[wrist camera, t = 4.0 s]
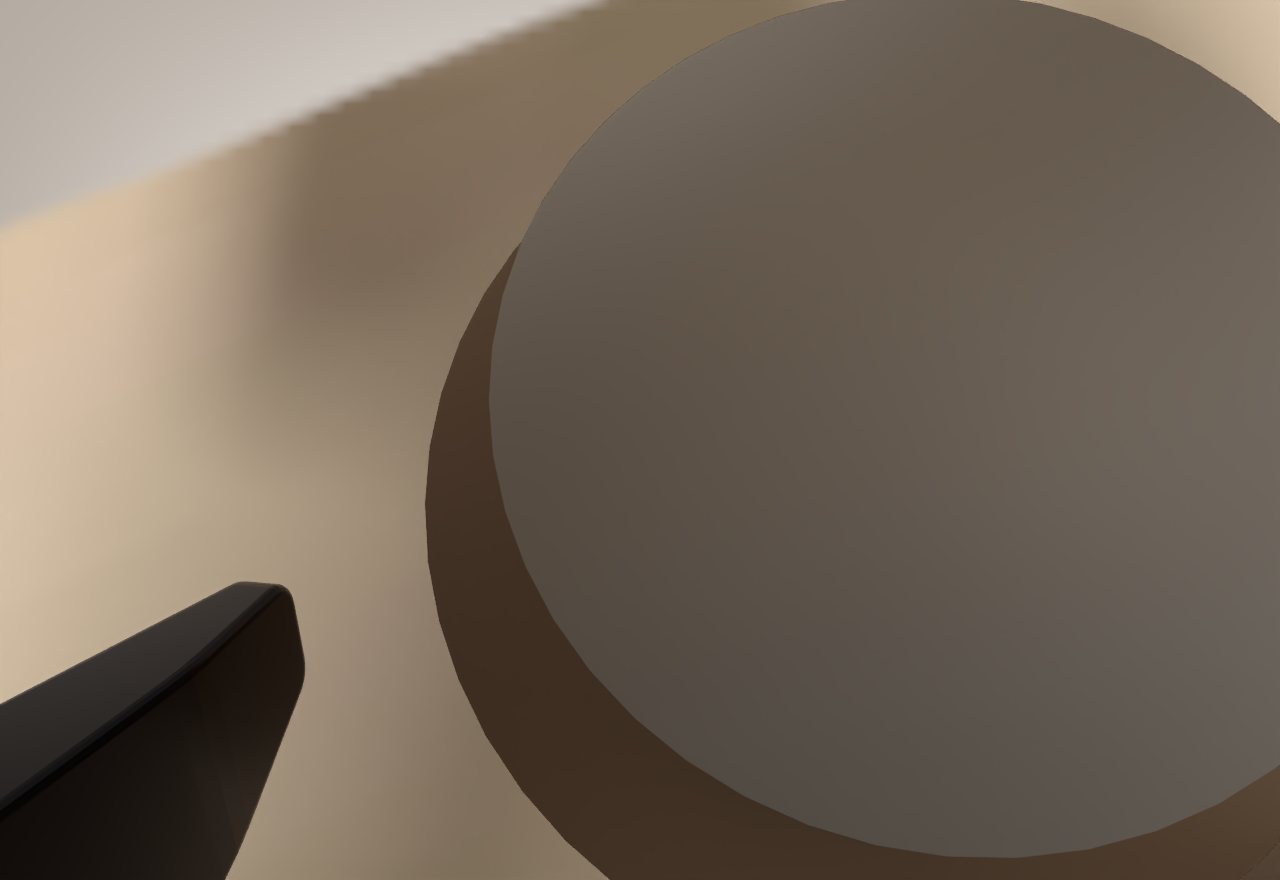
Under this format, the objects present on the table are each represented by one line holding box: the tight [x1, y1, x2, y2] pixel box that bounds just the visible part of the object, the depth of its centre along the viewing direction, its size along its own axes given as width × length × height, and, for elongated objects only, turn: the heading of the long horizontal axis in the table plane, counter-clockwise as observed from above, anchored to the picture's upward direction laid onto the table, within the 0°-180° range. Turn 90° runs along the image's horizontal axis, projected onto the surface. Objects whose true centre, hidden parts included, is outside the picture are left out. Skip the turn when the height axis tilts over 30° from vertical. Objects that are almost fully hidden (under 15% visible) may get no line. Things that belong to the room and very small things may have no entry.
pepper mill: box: [425, 0, 1280, 880], centre depth 10 cm, size 5×5×14 cm
